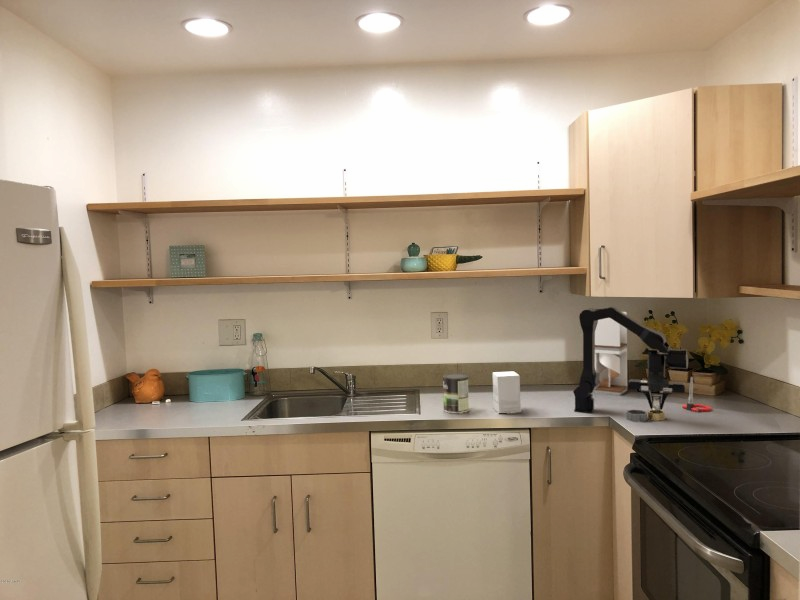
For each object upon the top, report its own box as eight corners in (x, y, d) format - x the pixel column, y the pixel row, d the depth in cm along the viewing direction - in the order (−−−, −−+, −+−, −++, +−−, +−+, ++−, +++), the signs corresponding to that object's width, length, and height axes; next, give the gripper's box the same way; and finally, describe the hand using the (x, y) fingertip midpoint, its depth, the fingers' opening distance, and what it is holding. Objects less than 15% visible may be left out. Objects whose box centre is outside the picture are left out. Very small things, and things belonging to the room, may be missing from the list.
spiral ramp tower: (593, 392, 254) (592, 313, 251) (601, 387, 262) (600, 311, 260) (620, 395, 247) (619, 314, 244) (627, 390, 255) (626, 312, 253)
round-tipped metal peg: (651, 415, 210) (651, 396, 209) (651, 413, 213) (651, 394, 212) (660, 416, 208) (660, 396, 208) (661, 413, 211) (661, 395, 211)
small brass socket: (647, 419, 209) (647, 412, 209) (648, 415, 214) (648, 409, 214) (664, 421, 207) (664, 414, 207) (665, 417, 212) (665, 410, 212)
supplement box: (515, 407, 233) (514, 370, 232) (521, 413, 224) (520, 375, 223) (492, 408, 232) (492, 371, 231) (498, 414, 223) (497, 376, 222)
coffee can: (445, 414, 226) (444, 378, 225) (441, 407, 236) (440, 373, 235) (471, 413, 226) (470, 377, 225) (466, 406, 237) (465, 372, 236)
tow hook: (698, 406, 227) (680, 407, 224) (700, 374, 226) (681, 375, 223) (716, 411, 219) (697, 413, 216) (718, 378, 218) (698, 379, 215)
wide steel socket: (625, 420, 209) (625, 413, 209) (627, 415, 215) (627, 409, 215) (646, 422, 206) (646, 415, 206) (647, 417, 212) (647, 410, 212)
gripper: (626, 369, 206) (627, 412, 207) (685, 372, 198) (684, 417, 199) (629, 364, 216) (629, 404, 217) (684, 366, 208) (684, 409, 209)
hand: (656, 409), depth 210 cm, fingers closed on round-tipped metal peg, 3 cm apart
